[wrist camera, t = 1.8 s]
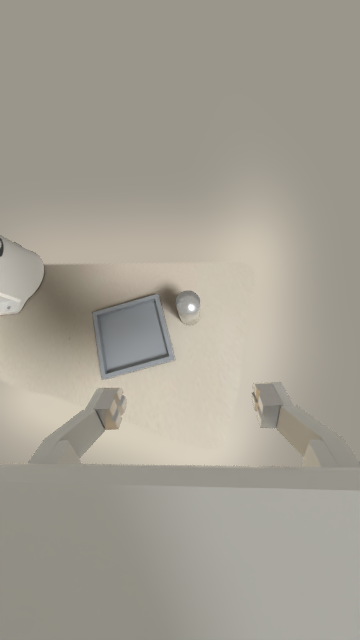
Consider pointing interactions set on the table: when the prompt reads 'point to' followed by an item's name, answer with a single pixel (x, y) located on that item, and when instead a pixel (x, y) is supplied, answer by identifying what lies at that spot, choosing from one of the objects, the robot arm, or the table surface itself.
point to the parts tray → (132, 337)
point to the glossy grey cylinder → (188, 307)
